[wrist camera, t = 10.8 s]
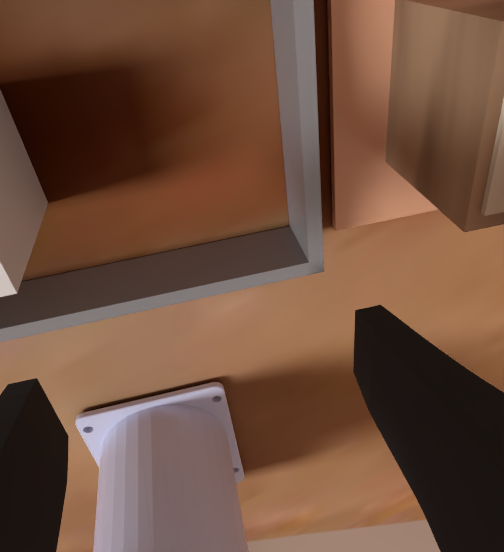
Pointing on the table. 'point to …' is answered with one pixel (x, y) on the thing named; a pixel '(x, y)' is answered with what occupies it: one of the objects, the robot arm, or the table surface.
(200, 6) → the table surface
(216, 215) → the table surface
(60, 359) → the table surface
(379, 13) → the tile
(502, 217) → the walnut box
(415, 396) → the robot arm
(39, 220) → the white box
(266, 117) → the table surface
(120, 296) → the bin
